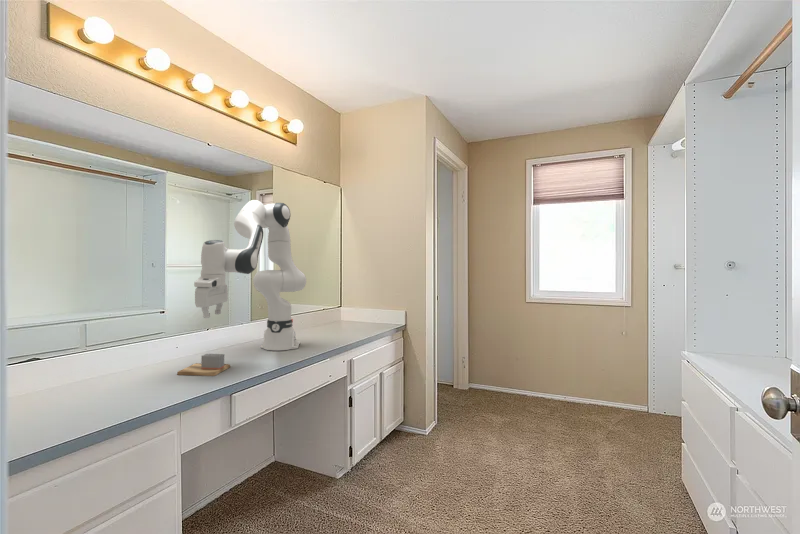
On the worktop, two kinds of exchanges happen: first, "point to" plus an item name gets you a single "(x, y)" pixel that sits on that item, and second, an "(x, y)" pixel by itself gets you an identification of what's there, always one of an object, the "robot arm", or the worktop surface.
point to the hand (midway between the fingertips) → (212, 316)
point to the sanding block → (212, 361)
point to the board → (201, 370)
